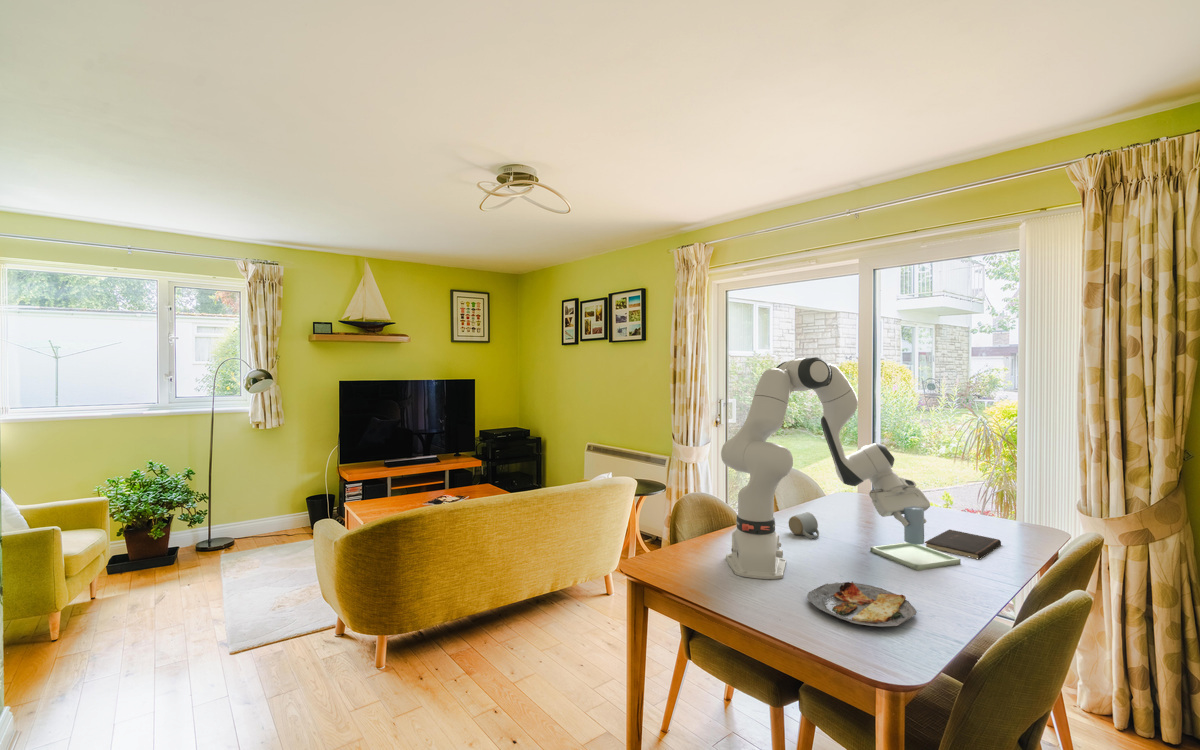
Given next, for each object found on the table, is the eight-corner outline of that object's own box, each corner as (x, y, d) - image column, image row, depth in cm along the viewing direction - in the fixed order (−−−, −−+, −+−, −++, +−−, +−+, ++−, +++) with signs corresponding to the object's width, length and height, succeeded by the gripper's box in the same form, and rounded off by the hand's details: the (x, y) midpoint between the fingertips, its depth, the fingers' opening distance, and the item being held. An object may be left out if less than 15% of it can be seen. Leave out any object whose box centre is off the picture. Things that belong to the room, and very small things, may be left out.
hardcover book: (924, 548, 184) (924, 541, 184) (949, 535, 198) (949, 529, 198) (979, 561, 171) (979, 554, 171) (1001, 546, 185) (1001, 539, 185)
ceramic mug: (786, 532, 200) (787, 512, 200) (802, 529, 204) (802, 510, 204) (808, 541, 191) (808, 520, 191) (824, 538, 194) (825, 517, 194)
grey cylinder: (926, 544, 170) (926, 511, 170) (907, 543, 171) (907, 510, 171) (920, 539, 175) (920, 506, 175) (901, 538, 177) (901, 505, 177)
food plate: (842, 582, 153) (842, 570, 153) (930, 612, 134) (930, 598, 134) (792, 607, 138) (792, 594, 138) (883, 645, 119) (883, 630, 119)
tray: (870, 551, 179) (870, 546, 179) (911, 545, 185) (911, 541, 184) (916, 570, 162) (916, 565, 162) (960, 563, 167) (960, 559, 167)
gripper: (872, 485, 176) (897, 522, 167) (917, 480, 183) (944, 516, 174) (861, 496, 180) (885, 532, 171) (906, 490, 187) (932, 525, 178)
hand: (915, 524), depth 173 cm, fingers closed on grey cylinder, 6 cm apart
